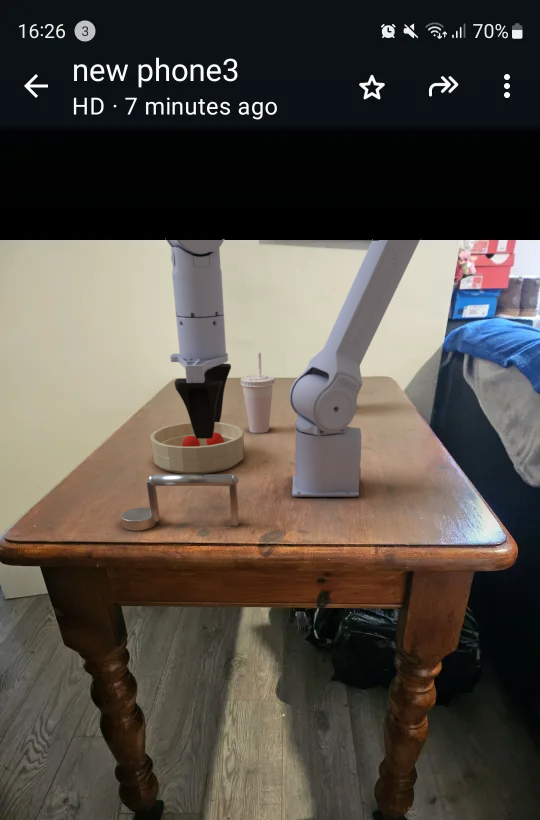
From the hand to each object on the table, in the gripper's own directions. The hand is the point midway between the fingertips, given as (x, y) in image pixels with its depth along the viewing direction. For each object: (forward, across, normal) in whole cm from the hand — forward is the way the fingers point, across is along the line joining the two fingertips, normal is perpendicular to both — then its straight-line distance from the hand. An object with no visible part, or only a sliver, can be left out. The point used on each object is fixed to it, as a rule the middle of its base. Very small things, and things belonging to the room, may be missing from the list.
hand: (208, 429), depth 77 cm
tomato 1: (+8, -21, -6) cm, 23 cm away
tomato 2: (+8, -23, -3) cm, 24 cm away
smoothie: (+11, -37, +4) cm, 39 cm away
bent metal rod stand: (+10, +7, -3) cm, 13 cm away
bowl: (+10, -19, -5) cm, 22 cm away
